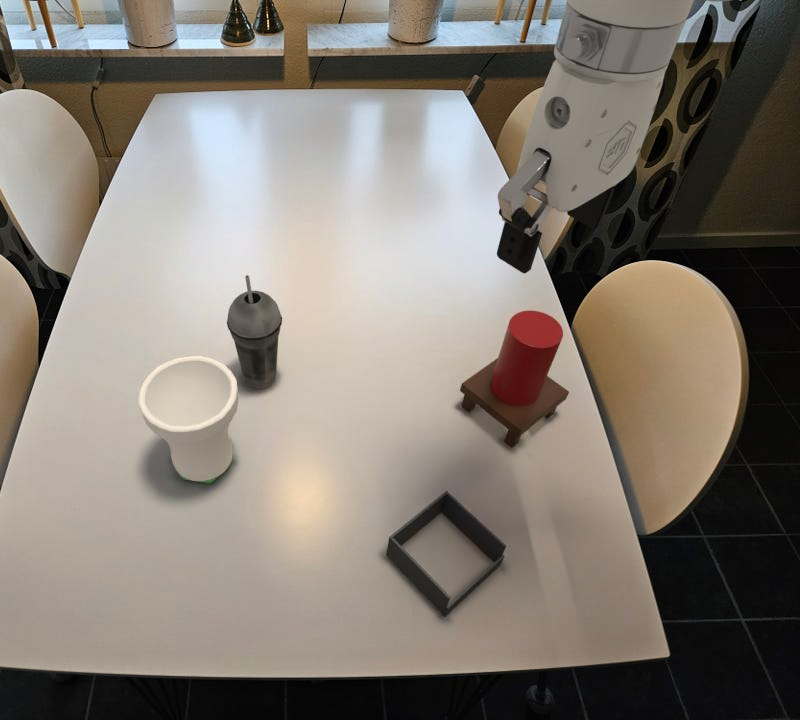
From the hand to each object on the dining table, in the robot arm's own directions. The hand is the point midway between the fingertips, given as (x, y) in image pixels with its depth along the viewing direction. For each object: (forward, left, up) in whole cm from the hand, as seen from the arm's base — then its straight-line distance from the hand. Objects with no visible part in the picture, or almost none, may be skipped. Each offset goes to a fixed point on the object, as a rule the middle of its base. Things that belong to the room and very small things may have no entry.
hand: (548, 241), depth 56 cm
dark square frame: (-6, +12, -36) cm, 39 cm away
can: (+4, -11, -31) cm, 33 cm away
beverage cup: (+30, +12, -36) cm, 49 cm away
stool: (+4, -11, -36) cm, 38 cm away
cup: (+23, +26, -36) cm, 50 cm away
